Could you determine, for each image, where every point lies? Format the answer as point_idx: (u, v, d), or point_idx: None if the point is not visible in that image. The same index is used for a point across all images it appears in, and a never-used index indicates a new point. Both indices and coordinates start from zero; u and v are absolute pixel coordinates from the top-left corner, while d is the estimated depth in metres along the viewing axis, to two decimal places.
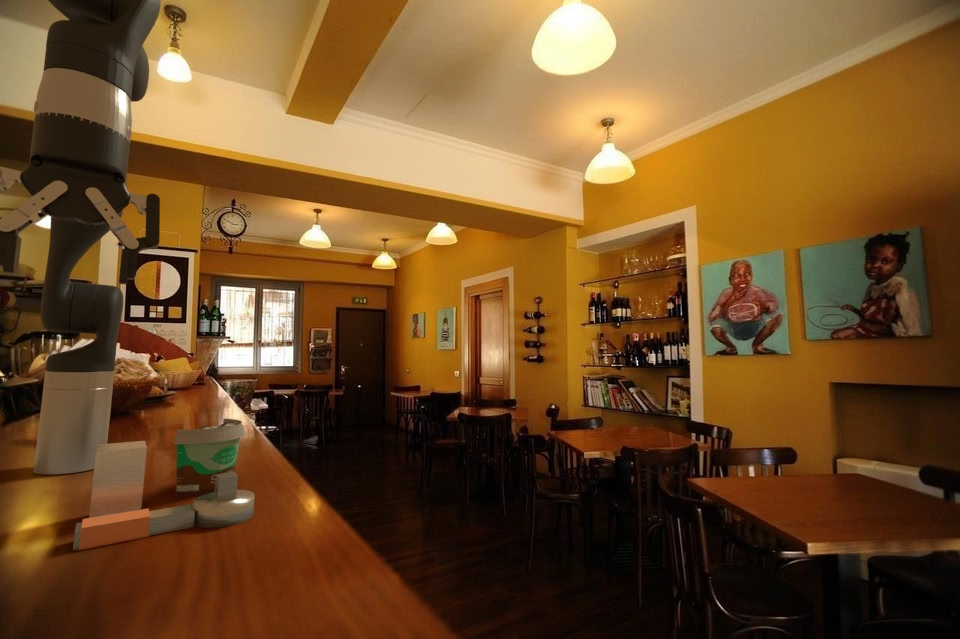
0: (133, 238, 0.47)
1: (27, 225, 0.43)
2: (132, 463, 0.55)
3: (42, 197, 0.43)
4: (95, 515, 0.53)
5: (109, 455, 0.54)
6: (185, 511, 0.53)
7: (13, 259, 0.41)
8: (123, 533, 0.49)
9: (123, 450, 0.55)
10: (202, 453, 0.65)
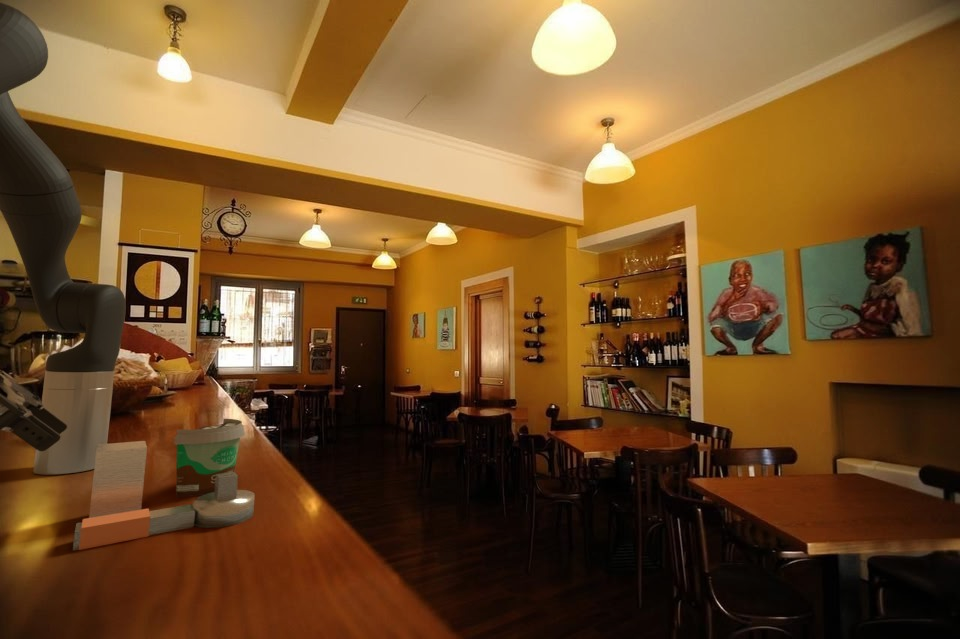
0: None
1: (30, 402, 0.54)
2: (132, 463, 0.55)
3: None
4: (95, 515, 0.53)
5: (109, 455, 0.54)
6: (185, 511, 0.53)
7: None
8: (123, 533, 0.49)
9: (123, 450, 0.55)
10: (202, 453, 0.65)
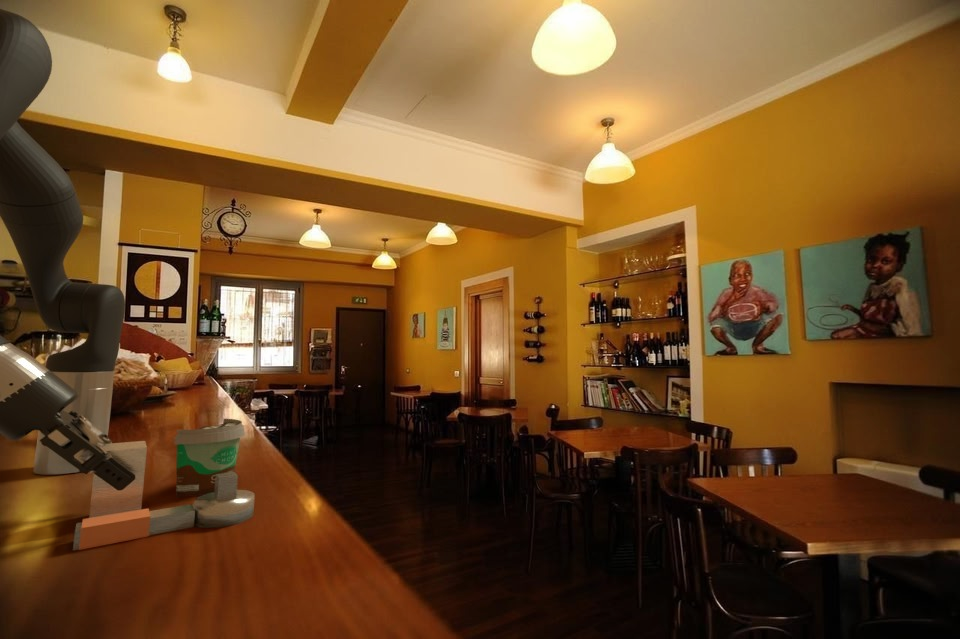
0: None
1: None
2: (132, 463, 0.55)
3: None
4: (95, 515, 0.53)
5: None
6: (185, 511, 0.53)
7: None
8: (123, 533, 0.49)
9: (123, 450, 0.55)
10: (202, 453, 0.65)
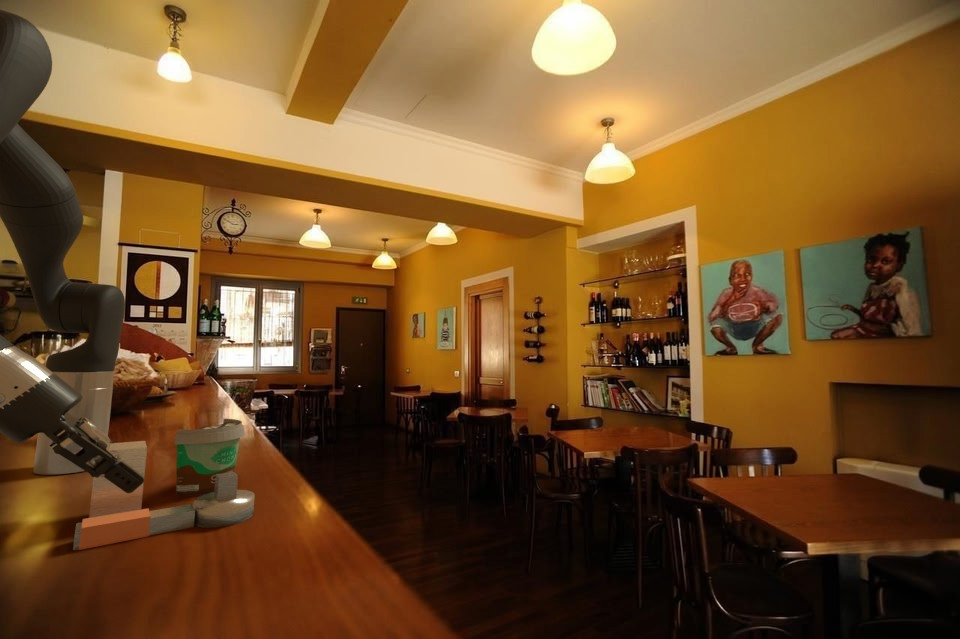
0: None
1: None
2: (132, 463, 0.55)
3: None
4: (95, 515, 0.53)
5: None
6: (185, 511, 0.53)
7: None
8: (123, 533, 0.49)
9: (123, 450, 0.55)
10: (202, 453, 0.65)
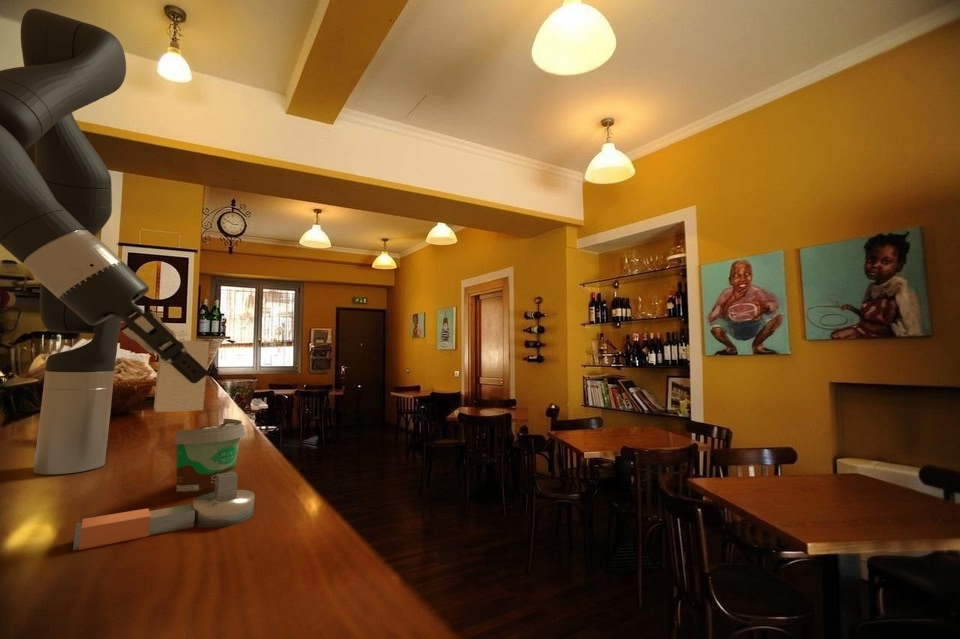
0: None
1: None
2: (196, 355, 0.56)
3: (137, 340, 0.56)
4: (162, 401, 0.54)
5: None
6: (185, 511, 0.53)
7: None
8: (123, 533, 0.49)
9: (187, 341, 0.56)
10: (202, 453, 0.65)
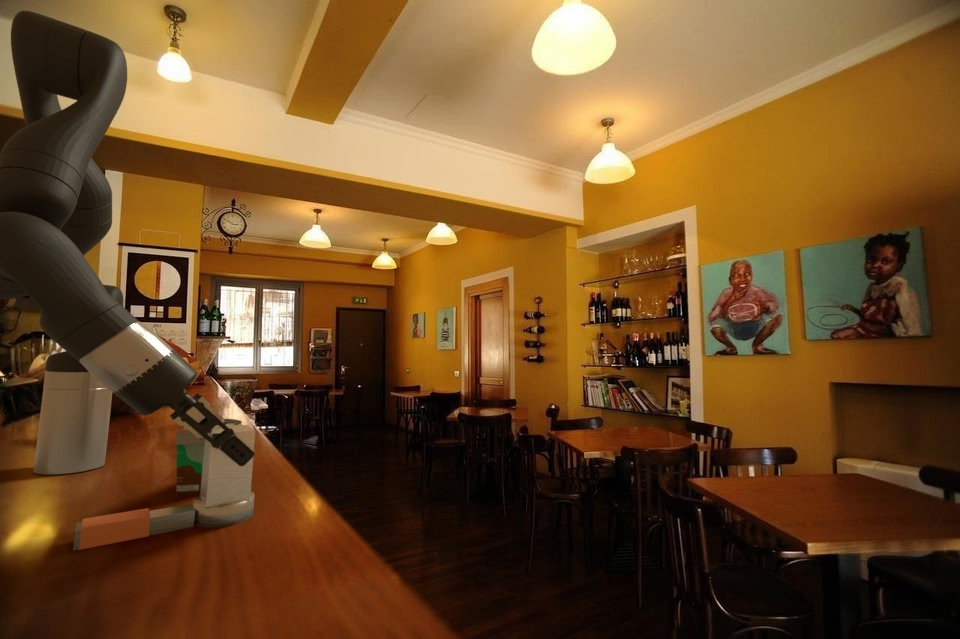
0: None
1: None
2: None
3: None
4: (211, 496, 0.54)
5: None
6: (185, 510, 0.53)
7: None
8: (123, 533, 0.49)
9: (235, 433, 0.56)
10: (202, 453, 0.65)
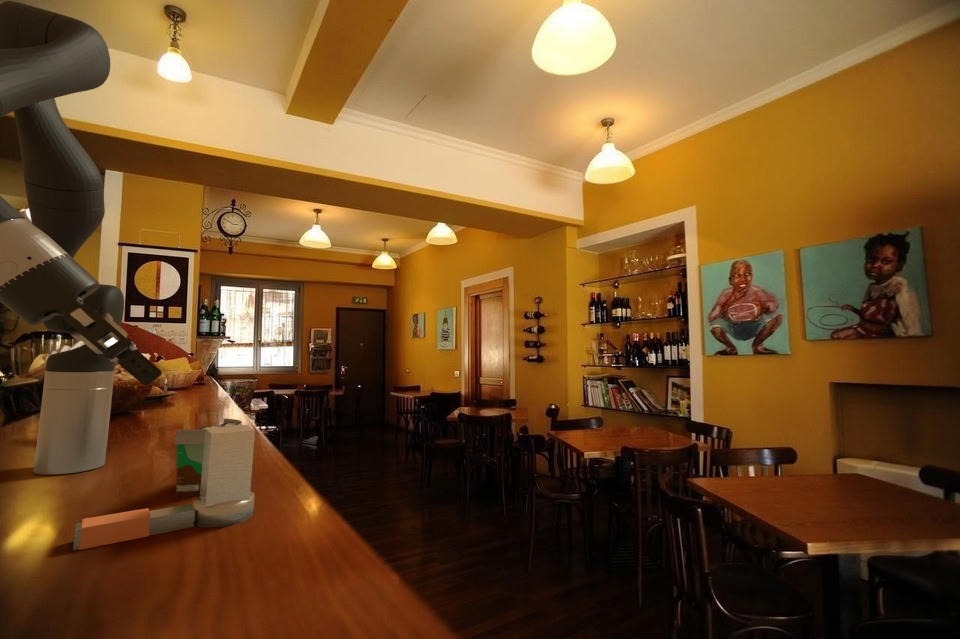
0: None
1: None
2: (242, 445, 0.56)
3: None
4: (211, 495, 0.54)
5: (222, 437, 0.55)
6: (185, 510, 0.53)
7: None
8: (123, 533, 0.49)
9: (234, 432, 0.56)
10: (202, 453, 0.65)
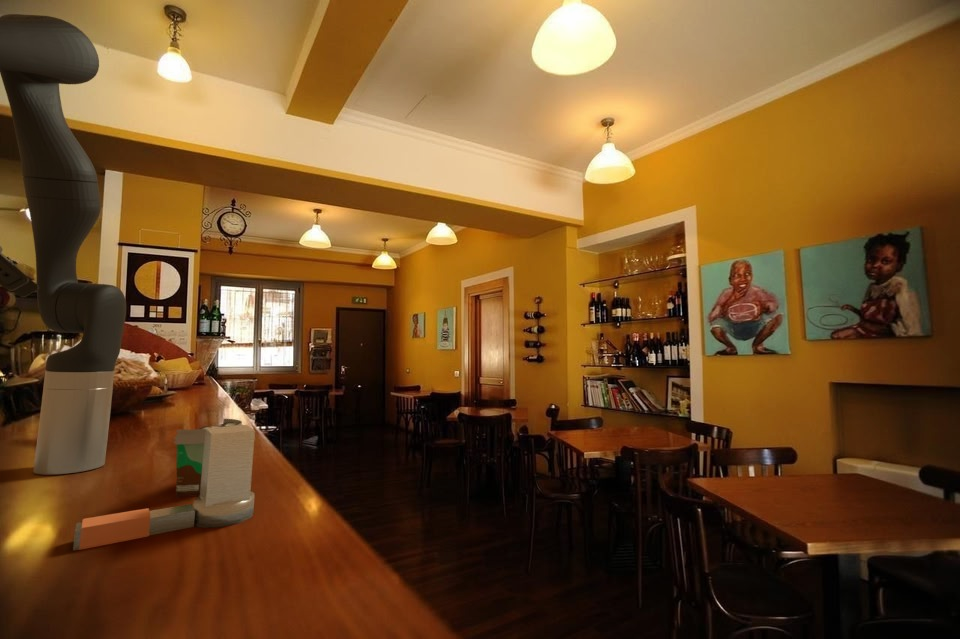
0: None
1: None
2: (242, 446, 0.56)
3: None
4: (211, 496, 0.54)
5: (222, 437, 0.55)
6: (185, 511, 0.53)
7: (12, 290, 0.55)
8: (123, 533, 0.49)
9: (234, 433, 0.56)
10: (202, 453, 0.65)
